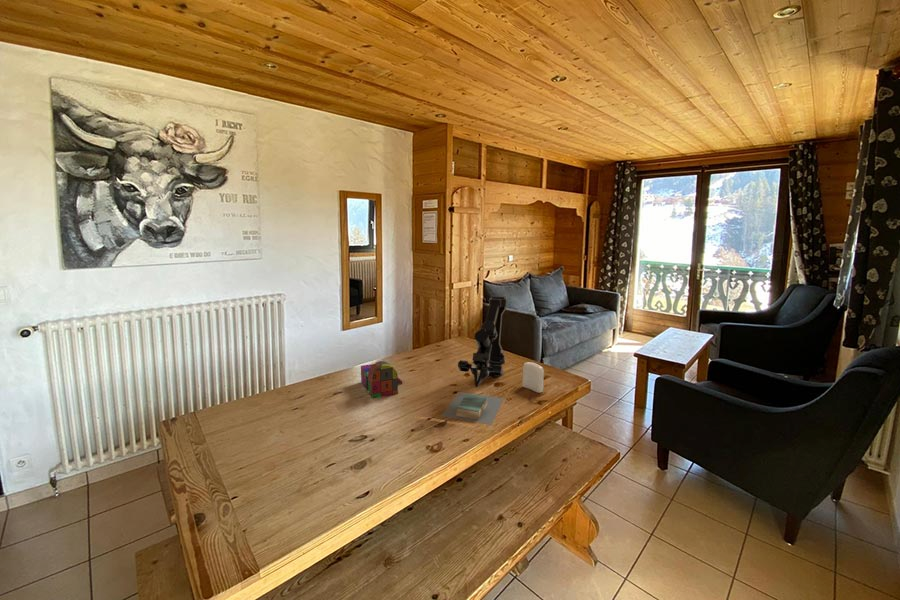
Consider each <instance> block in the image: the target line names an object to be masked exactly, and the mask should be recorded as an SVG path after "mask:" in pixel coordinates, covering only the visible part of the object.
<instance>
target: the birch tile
mask: <svg viewBox="0 0 900 600" xmlns="http://www.w3.org/2000/svg"><path fill="white" fill-rule="evenodd" d="M472 394H473V393H470V394H466V396H465V397H464V398H463V400H462V401H461V403H460V404H459V406H458V407H457V413H456V416H461V417H467V418H473V419H479V418H480V417H481V415H482V413H483V411H484V409H485V407H486V405H487V397H485V396H486V395H483V396H478V395H479V394H476V395H472Z"/></svg>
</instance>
